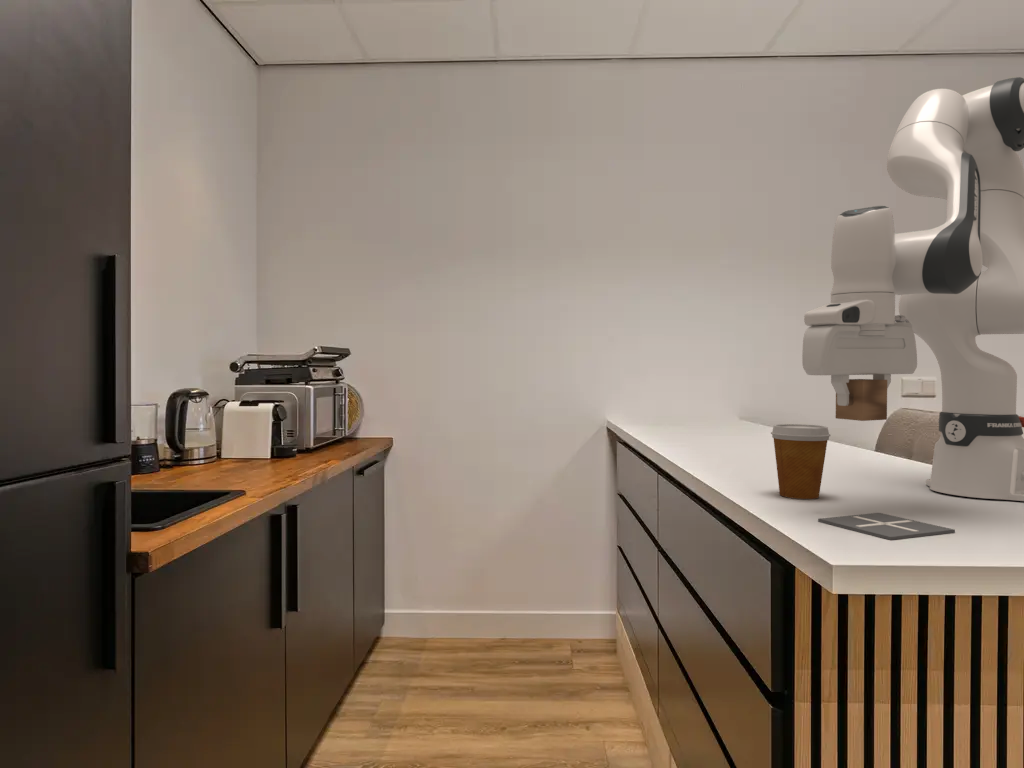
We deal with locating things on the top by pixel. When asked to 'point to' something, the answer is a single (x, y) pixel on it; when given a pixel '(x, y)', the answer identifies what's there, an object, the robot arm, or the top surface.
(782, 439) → the disposable coffee cup
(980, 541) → the top surface
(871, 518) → the pad
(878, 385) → the walnut block
